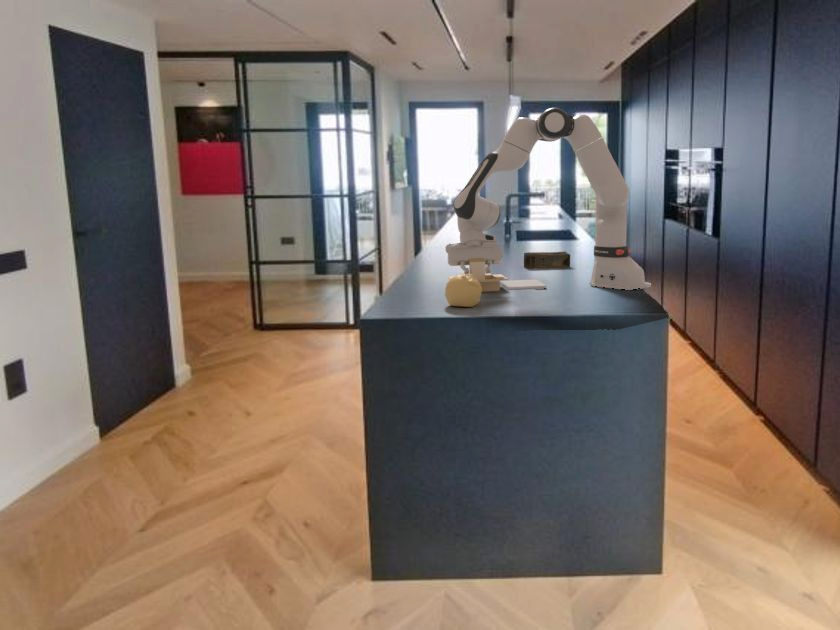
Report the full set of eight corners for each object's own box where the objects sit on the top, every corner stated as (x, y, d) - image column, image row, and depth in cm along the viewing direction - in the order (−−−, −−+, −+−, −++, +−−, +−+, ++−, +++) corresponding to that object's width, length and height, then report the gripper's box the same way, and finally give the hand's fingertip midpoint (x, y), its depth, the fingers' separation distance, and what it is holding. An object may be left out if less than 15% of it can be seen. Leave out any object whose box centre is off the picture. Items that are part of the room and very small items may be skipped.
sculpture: (484, 308, 241) (484, 275, 239) (447, 310, 240) (447, 276, 238) (479, 301, 252) (479, 270, 250) (443, 303, 251) (443, 271, 249)
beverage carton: (570, 268, 321) (571, 252, 319) (526, 269, 320) (526, 254, 318) (566, 265, 328) (566, 250, 327) (522, 266, 327) (522, 251, 326)
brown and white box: (469, 288, 276) (468, 258, 273) (483, 287, 276) (483, 257, 274) (471, 290, 271) (471, 259, 269) (485, 289, 272) (485, 259, 269)
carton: (446, 287, 281) (446, 275, 280) (499, 284, 283) (499, 273, 282) (453, 295, 264) (453, 282, 264) (509, 292, 266) (509, 280, 266)
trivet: (500, 284, 285) (500, 280, 285) (536, 282, 286) (536, 279, 286) (508, 290, 271) (508, 287, 271) (546, 288, 273) (546, 285, 272)
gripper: (445, 238, 276) (449, 268, 268) (500, 236, 278) (506, 266, 270) (444, 249, 281) (448, 279, 273) (497, 247, 283) (503, 276, 276)
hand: (477, 272), depth 272 cm, fingers open, 6 cm apart
